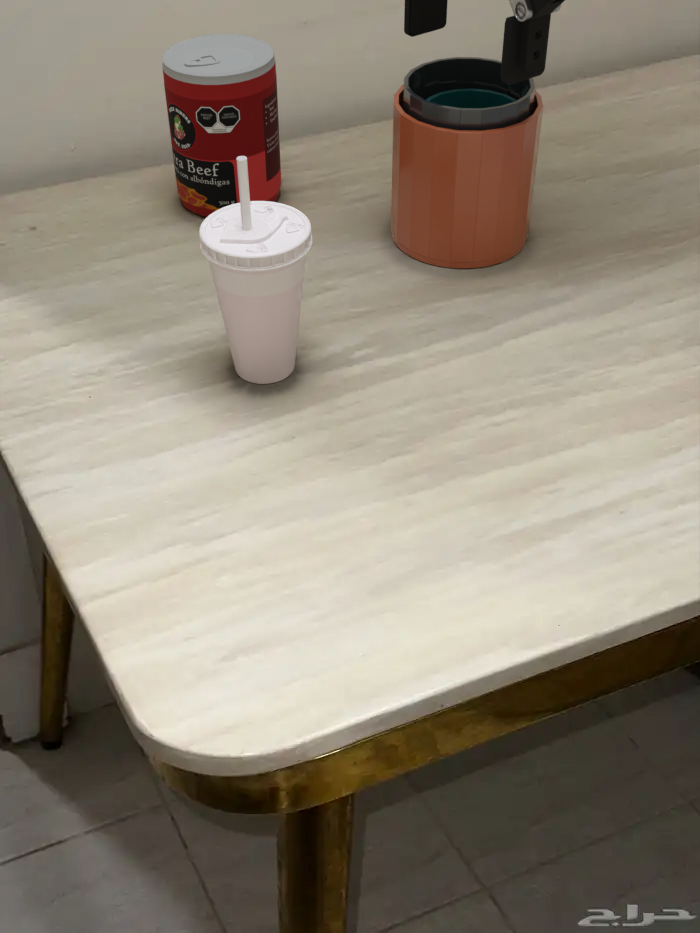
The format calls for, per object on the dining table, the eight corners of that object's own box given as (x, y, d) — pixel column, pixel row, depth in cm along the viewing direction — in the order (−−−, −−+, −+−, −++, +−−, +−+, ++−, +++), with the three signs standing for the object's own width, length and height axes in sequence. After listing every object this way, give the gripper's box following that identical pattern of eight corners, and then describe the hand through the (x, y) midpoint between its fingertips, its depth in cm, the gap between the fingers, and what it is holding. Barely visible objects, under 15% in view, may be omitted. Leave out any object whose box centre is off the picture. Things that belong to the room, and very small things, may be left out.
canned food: (158, 195, 85) (139, 52, 78) (241, 162, 89) (230, 24, 82) (218, 232, 81) (204, 85, 73) (302, 197, 85) (297, 54, 77)
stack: (498, 192, 85) (509, 63, 78) (548, 257, 78) (566, 121, 71) (374, 209, 83) (375, 79, 76) (415, 277, 76) (420, 141, 69)
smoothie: (193, 362, 69) (166, 152, 60) (275, 324, 72) (262, 118, 63) (254, 411, 65) (236, 196, 56) (337, 369, 68) (334, 158, 59)
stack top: (493, 197, 84) (506, 51, 77) (536, 253, 78) (555, 101, 71) (385, 212, 83) (387, 64, 75) (421, 271, 77) (427, 117, 69)
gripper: (658, -242, 57) (609, 83, 68) (445, -285, 67) (433, 3, 79) (550, -224, 54) (517, 115, 65) (344, -271, 64) (347, 27, 76)
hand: (471, 53), depth 72 cm, fingers open, 9 cm apart
